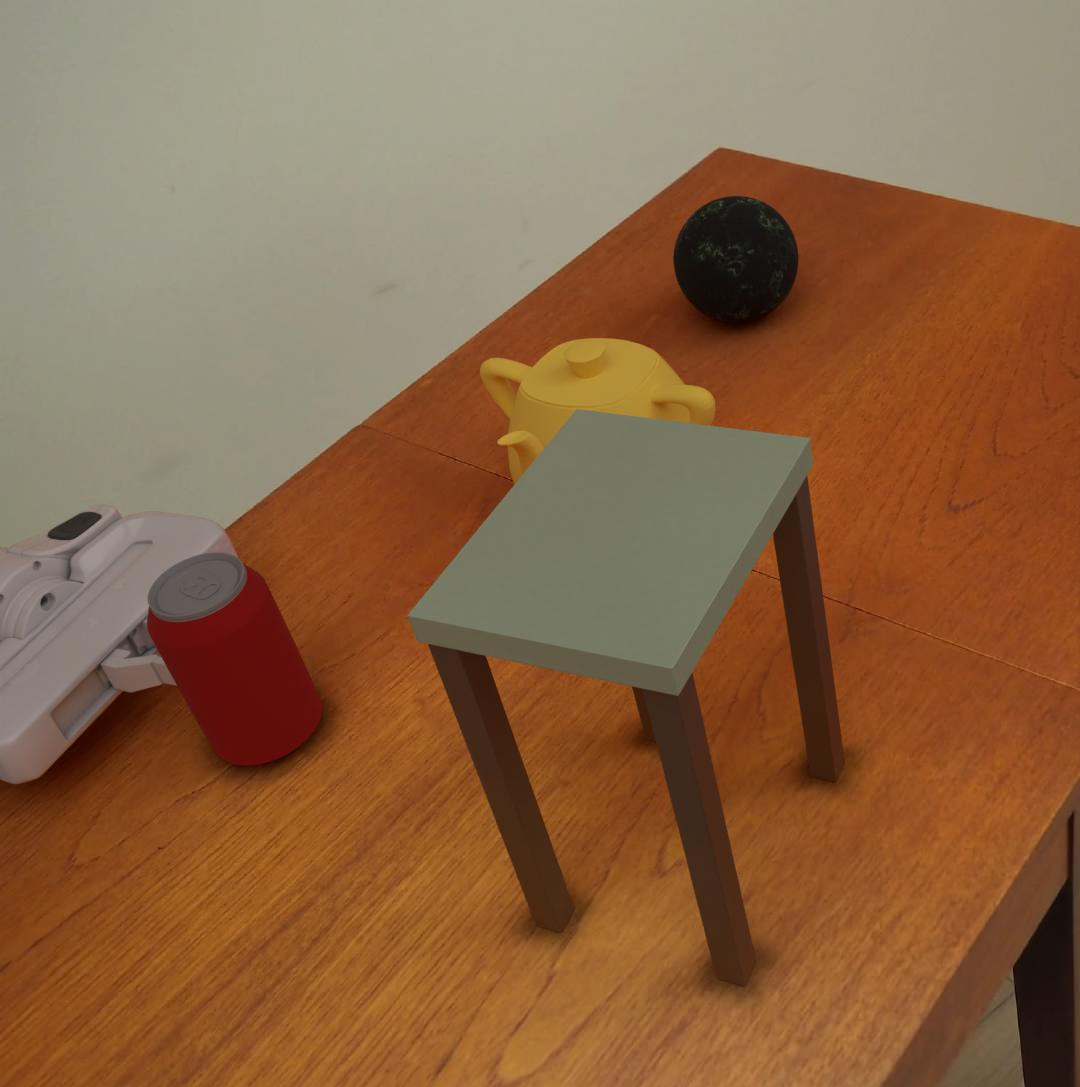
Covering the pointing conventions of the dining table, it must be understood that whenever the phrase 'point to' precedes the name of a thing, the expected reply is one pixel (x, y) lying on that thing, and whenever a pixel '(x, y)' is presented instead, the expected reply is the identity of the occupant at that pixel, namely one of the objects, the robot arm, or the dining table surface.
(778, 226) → the decorative stone
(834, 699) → the side table
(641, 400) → the teapot
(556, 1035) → the dining table surface
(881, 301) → the dining table surface
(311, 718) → the beverage can
